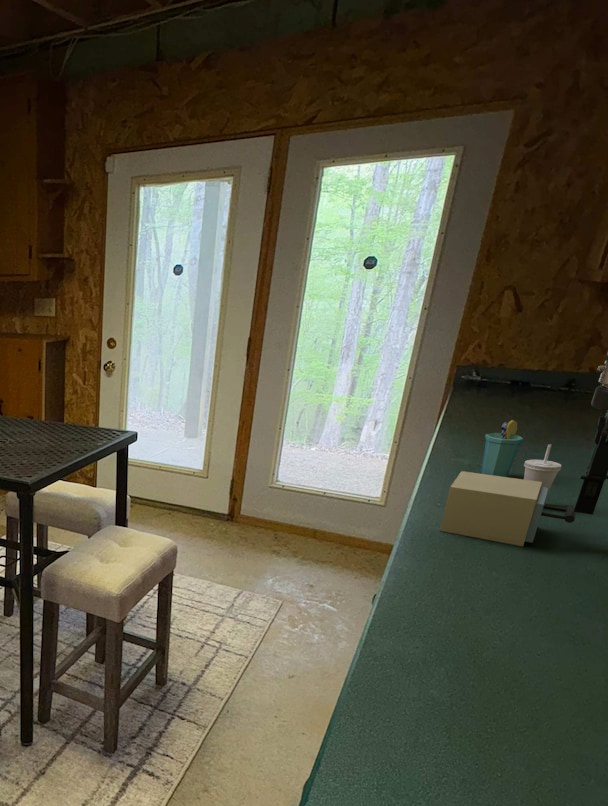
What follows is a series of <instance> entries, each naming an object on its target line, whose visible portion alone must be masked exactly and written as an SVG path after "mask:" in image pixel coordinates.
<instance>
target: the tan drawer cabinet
mask: <svg viewBox="0 0 608 806" xmlns="http://www.w3.org/2000/svg"><path fill="white" fill-rule="evenodd" d="M541 485H542V482H538V481H531V480H524V478H514V477H508V476H507V477H501V476H494V475H486V474H481V473H478V472H471V471H465V470H461V471H460V473H459V474H458V475H457V477H456V478H455V479H454V481H453V483H452V484H451V485H450V487H449V490H448V496H447V499H446V503H445V506H444V507H445V508H444V511H443V517H442V519H441V524H440V528H439V531H440V532H443V533H444V532H445V533H450V534H455V535H460V536H465V537H470V538H475V539H481V540H486V541H490V542H491V541H492V542H497V543H502V544H508V545H512V546H519V547H524V545H525V538H526V535H527V532H528V528H529V525H530V522H531V518H532V515H533V511H534V508H535V505H536V501H537V498H538V495H539V491H540V488H541Z"/></svg>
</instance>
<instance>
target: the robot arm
mask: <svg viewBox="0 0 608 806" xmlns="http://www.w3.org/2000/svg"><path fill="white" fill-rule="evenodd" d="M597 371H598V372H600V376H599V378H598V383H599V384H600V385H598V386H596V387H595V390H594V393H593V396H592V399H591V401H590V402H591V403H590V404H591V406H592V407H593V408H594V409H597V410H602V411H607V413H606V416H599V418H598V421H597V427H596V429H597V430H596V432H595V436H594V444H595V445H594V448H593V450H592V455H591V458H590V461H589V464H588V466H586V469H587V470H586V472H585V474H580V475H581V476H580V480H583V482H582V483H581V484H582V485H581V488H580V490H579V494H578V496H577V500H576V503H575V506H574V507H573V508H574V512H576V513H579V514H584V515H585V514H586V515H594V513H595V510H596V507H597V504H598V502H599V501H598V500H599V498H600V495H601V492H602V489H603V486H604V483H605V481H606V480H608V351H607V352H606V357H605V361H604V364H603V365H599V366H598V367H597Z"/></svg>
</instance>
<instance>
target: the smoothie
mask: <svg viewBox="0 0 608 806" xmlns="http://www.w3.org/2000/svg"><path fill="white" fill-rule="evenodd" d="M551 449H552V444H551V443H549V444H547V448H546V451H545V455H544V458H543V459H527V460H525V461H524V463H523V467H524V475H523V480H531V481H538V482H542V485H541V487H544V488H548V492H547V495H548V494H549V492H550V490H551V488H552V485H553V483H554V481H555V479H556V477H557V475H558V473H559V472H560V471H561V470H562V465H563V464H561V463H559V462H555V461H552V460H548V459H549V456H550V452H551Z"/></svg>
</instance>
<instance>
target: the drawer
mask: <svg viewBox="0 0 608 806" xmlns="http://www.w3.org/2000/svg"><path fill="white" fill-rule="evenodd" d="M547 492H548V488H544V487H541V488H540V491H539V495H538V498H537V501H536V505H535V508H534V511H533V515H532V518H531V522H530V525H529V528H528V532H527V535H526V538H525V542H526V543H531V544H533V543H534V540H535V536H536V533H537V529H538V527H539V522H540V519H541V517H548V518H553V519H560V520H564V521H565V522H566V523H570V524H571V523H574V521H575V519H576V513H577V512H574V508H575V507H573V506H568V507H567V508H565V507H559V506H552V505H546V504H545V503H546V499H547V496H548V494H547ZM548 493H549V492H548ZM543 510H549V511H556V512H562V513H565V514H564V515H563V514H557V513H550V512H544V511H543ZM525 542H524V543H525Z"/></svg>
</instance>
